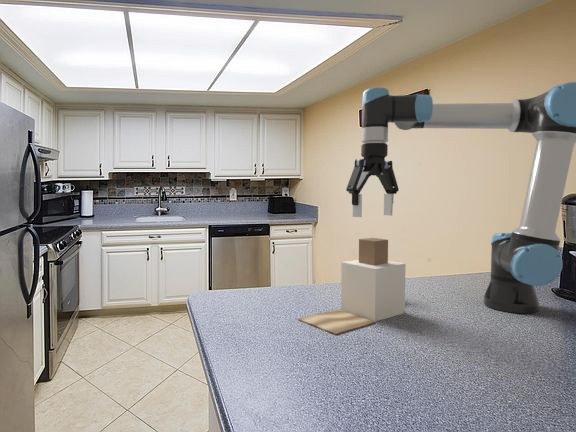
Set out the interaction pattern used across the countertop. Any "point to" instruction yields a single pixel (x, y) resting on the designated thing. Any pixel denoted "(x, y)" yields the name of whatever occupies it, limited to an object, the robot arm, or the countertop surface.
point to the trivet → (336, 321)
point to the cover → (373, 282)
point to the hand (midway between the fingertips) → (373, 216)
